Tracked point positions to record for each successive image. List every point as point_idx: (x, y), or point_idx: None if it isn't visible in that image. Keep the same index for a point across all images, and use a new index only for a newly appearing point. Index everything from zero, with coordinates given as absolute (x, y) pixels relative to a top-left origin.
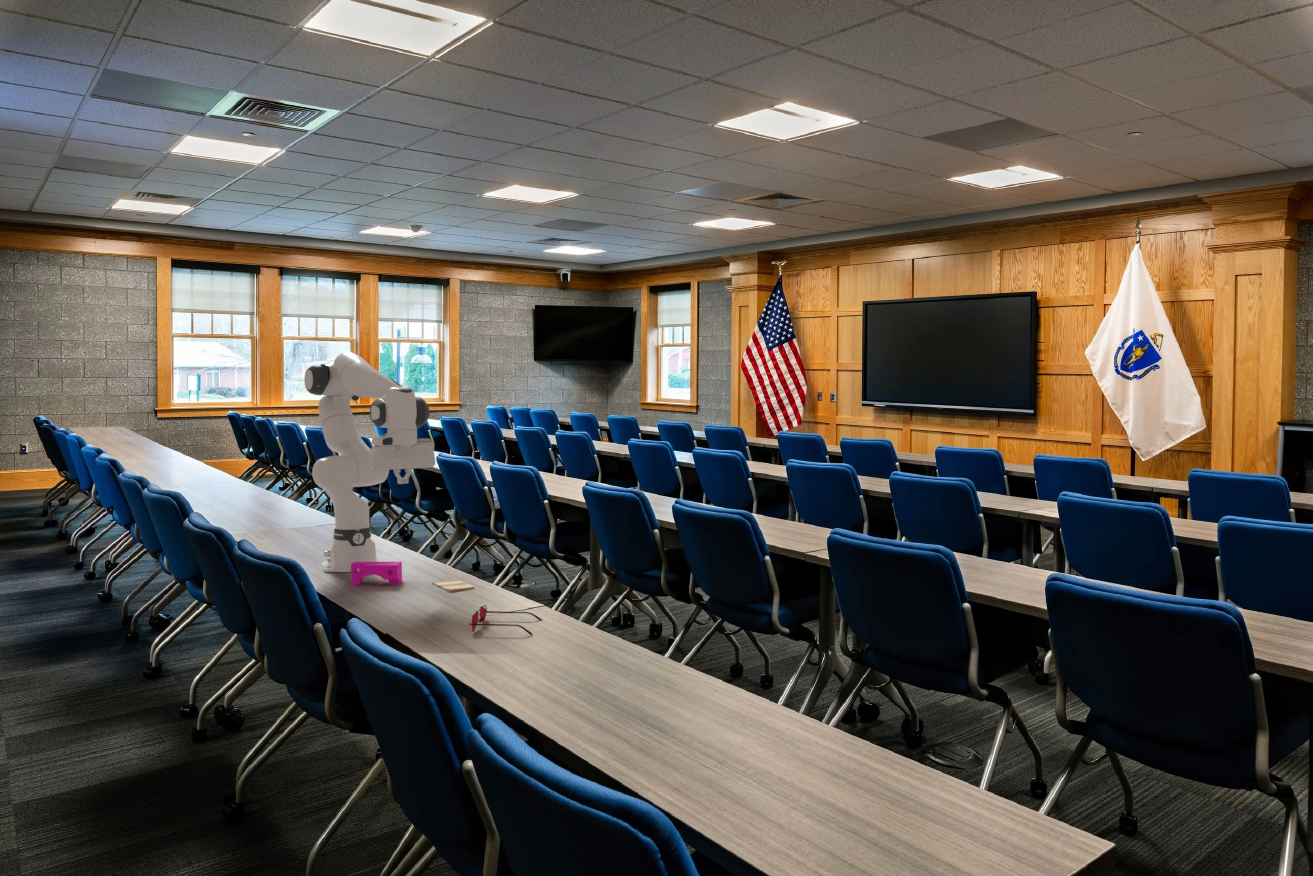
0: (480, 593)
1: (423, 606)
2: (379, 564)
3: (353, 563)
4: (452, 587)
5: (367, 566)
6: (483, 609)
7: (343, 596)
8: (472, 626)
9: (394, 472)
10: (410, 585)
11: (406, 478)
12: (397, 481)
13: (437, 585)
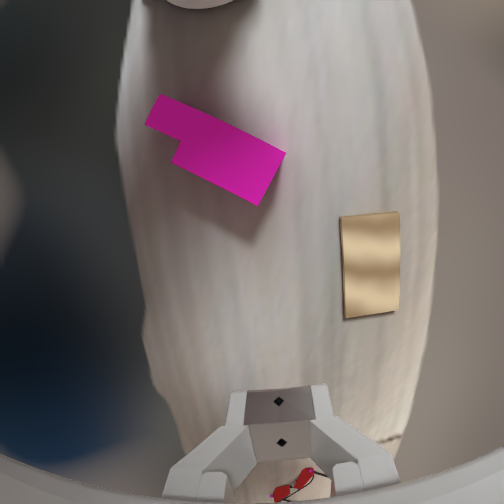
0: (391, 334)
1: (262, 379)
2: (214, 168)
3: (152, 117)
4: (359, 297)
5: (181, 167)
6: (305, 481)
7: (136, 221)
8: (273, 495)
9: (178, 484)
10: (297, 179)
11: (310, 453)
12: (229, 402)
13: (343, 252)
